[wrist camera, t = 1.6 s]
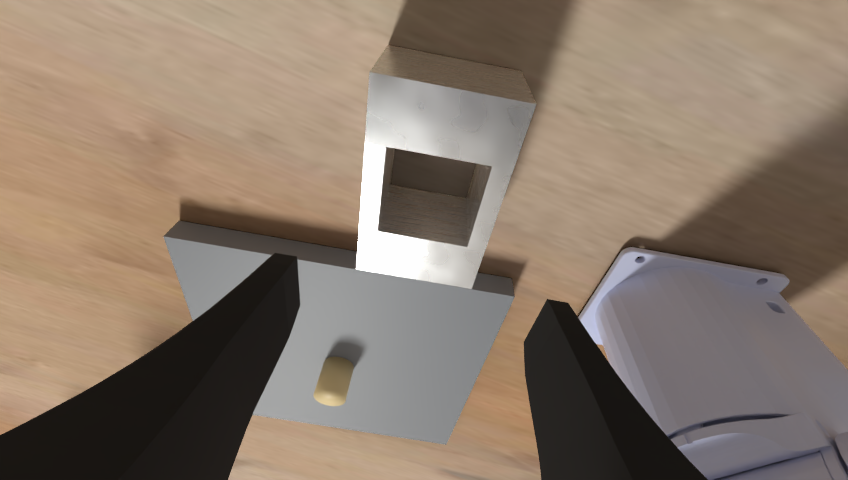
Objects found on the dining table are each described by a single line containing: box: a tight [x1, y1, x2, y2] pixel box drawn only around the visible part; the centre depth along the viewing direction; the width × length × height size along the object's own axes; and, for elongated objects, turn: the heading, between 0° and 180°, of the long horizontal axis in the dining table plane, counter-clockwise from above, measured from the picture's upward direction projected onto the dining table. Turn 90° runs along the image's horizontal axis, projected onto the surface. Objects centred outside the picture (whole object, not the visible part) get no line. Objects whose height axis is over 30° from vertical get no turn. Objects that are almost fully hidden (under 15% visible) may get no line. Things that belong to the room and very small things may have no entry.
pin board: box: [163, 221, 515, 444], centre depth 27 cm, size 20×20×4 cm
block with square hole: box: [356, 45, 536, 289], centre depth 17 cm, size 6×9×4 cm, turn 171°
